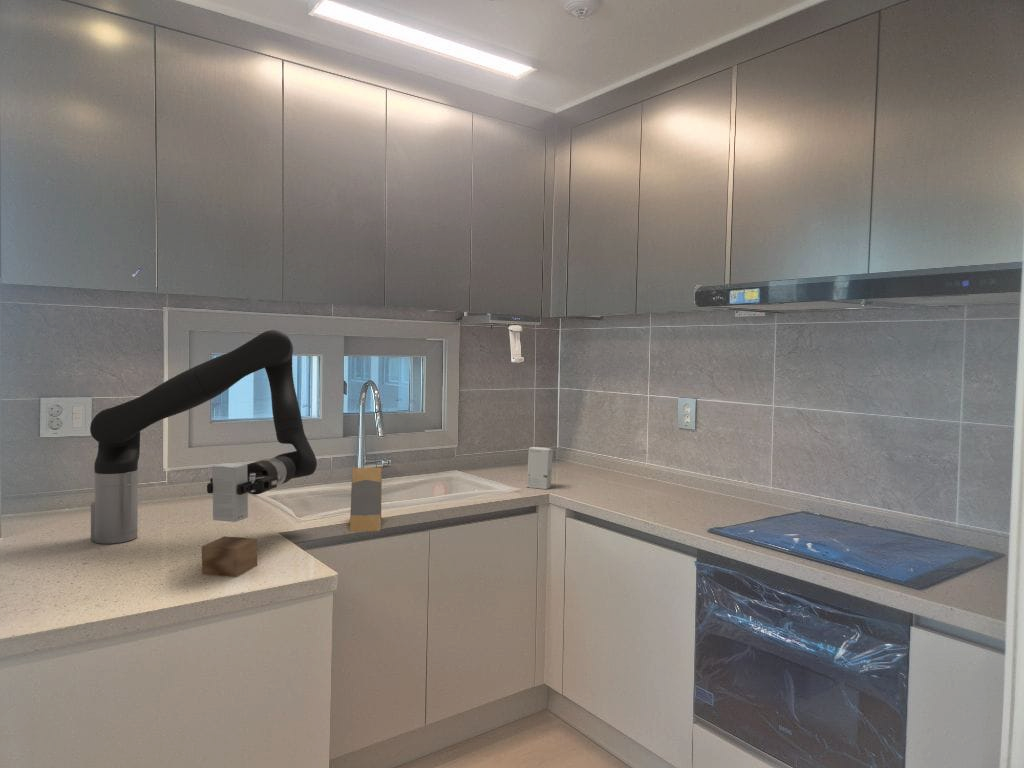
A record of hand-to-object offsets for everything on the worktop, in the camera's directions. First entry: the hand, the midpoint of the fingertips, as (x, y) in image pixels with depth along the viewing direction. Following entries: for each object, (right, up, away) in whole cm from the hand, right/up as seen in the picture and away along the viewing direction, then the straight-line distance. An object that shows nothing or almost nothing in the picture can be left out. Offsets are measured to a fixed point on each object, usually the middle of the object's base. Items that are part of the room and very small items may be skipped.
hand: (224, 489), depth 138 cm
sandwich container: (+21, -17, +42) cm, 50 cm away
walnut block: (+1, -18, +1) cm, 18 cm away
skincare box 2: (+72, -16, +102) cm, 126 cm away
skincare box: (0, -7, +3) cm, 8 cm away
